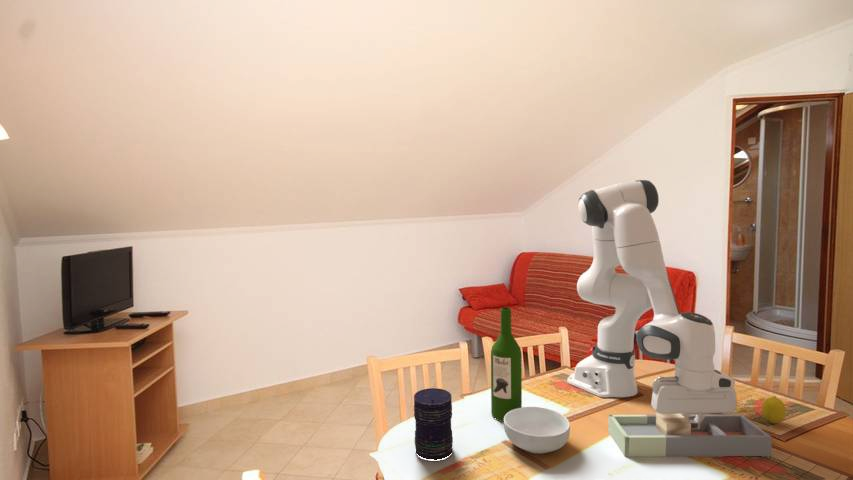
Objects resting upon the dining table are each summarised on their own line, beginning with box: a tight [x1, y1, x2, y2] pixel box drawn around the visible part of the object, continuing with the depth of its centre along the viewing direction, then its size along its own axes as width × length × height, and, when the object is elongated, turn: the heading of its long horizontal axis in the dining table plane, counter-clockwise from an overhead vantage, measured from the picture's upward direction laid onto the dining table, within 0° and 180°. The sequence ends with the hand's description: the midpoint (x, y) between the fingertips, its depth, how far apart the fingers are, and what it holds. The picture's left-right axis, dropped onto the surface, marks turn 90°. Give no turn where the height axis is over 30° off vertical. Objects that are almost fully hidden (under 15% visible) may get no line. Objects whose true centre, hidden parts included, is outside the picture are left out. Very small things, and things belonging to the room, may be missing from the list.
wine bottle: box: [490, 307, 523, 422], centre depth 140 cm, size 9×9×32 cm
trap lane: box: [607, 413, 773, 458], centre depth 124 cm, size 36×12×5 cm, turn 88°
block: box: [655, 412, 691, 435], centre depth 124 cm, size 6×6×4 cm
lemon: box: [761, 395, 787, 425], centre depth 133 cm, size 6×6×8 cm
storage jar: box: [413, 387, 454, 460], centre depth 122 cm, size 10×10×15 cm
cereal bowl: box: [503, 406, 571, 455], centre depth 125 cm, size 17×17×7 cm
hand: (692, 427), depth 124 cm, fingers closed
